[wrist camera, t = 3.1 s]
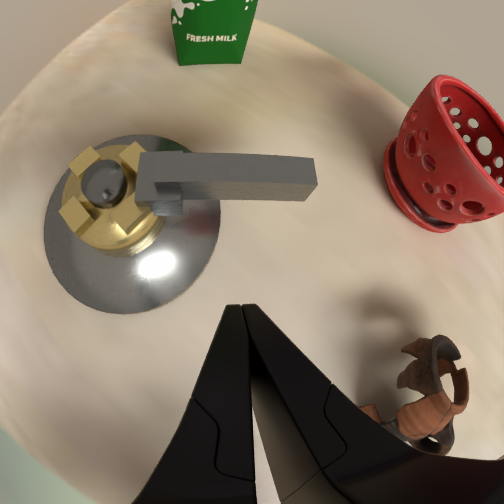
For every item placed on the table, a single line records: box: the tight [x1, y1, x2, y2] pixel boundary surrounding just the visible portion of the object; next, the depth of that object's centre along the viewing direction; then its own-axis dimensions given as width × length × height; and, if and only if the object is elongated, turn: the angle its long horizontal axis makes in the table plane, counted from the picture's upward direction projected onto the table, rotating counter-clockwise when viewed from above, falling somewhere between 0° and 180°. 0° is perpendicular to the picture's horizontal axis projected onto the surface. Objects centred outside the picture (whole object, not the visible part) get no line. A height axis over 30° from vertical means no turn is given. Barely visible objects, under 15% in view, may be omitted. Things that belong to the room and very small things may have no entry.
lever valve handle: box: [59, 141, 318, 258], centre depth 18 cm, size 16×7×6 cm, turn 92°
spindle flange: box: [44, 135, 221, 314], centre depth 18 cm, size 15×15×7 cm
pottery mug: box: [359, 334, 469, 456], centre depth 19 cm, size 12×10×8 cm
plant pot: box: [383, 75, 504, 233], centre depth 22 cm, size 13×13×12 cm
